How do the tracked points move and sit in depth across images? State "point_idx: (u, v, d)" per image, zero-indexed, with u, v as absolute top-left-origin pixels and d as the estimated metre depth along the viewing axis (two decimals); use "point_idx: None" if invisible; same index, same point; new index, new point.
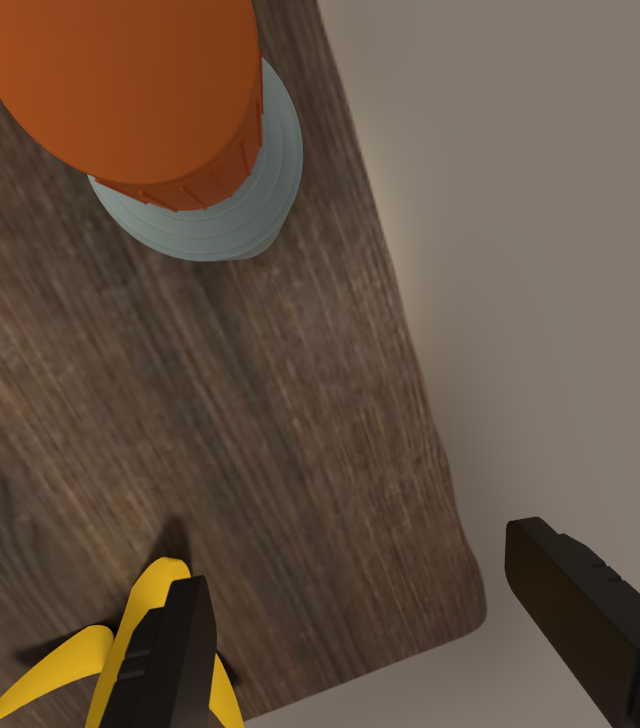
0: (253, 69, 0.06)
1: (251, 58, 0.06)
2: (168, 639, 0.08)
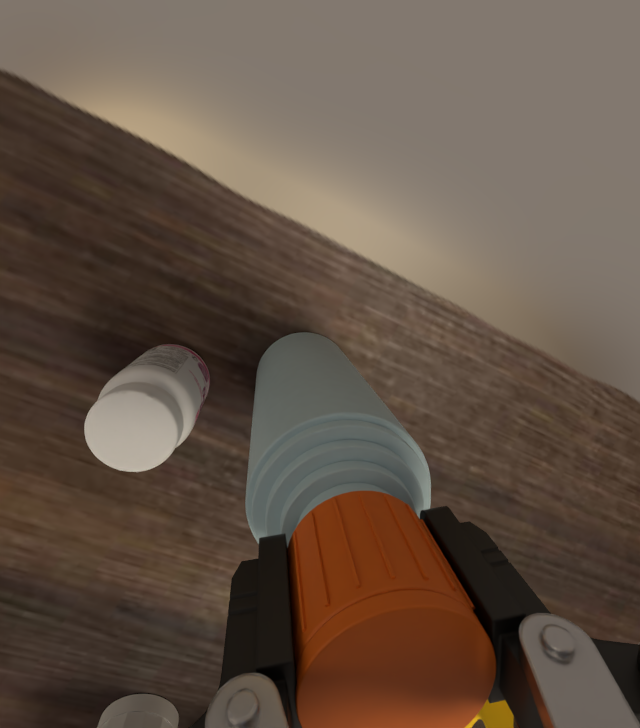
0: (483, 634, 0.07)
1: (475, 629, 0.07)
2: (270, 581, 0.09)
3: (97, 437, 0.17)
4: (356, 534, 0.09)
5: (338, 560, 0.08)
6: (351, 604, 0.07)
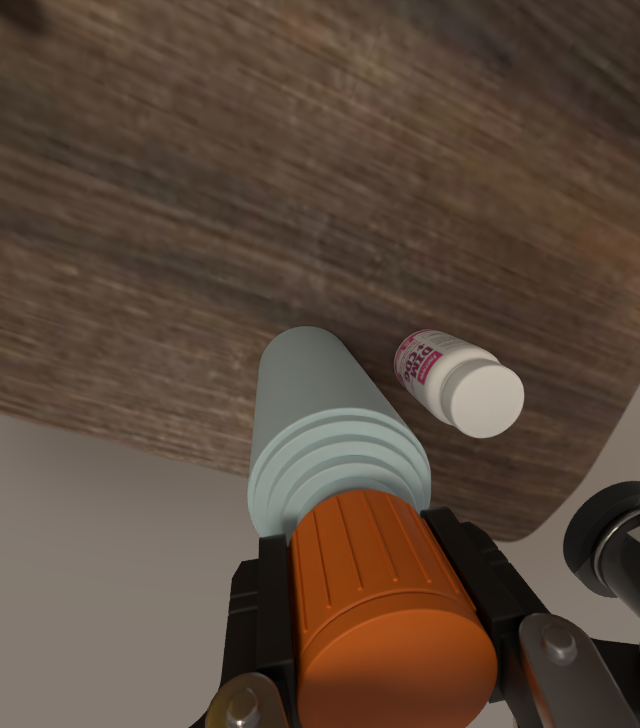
0: (485, 638, 0.07)
1: (478, 632, 0.07)
2: (271, 581, 0.09)
3: (515, 396, 0.20)
4: (358, 535, 0.09)
5: (339, 561, 0.08)
6: (353, 607, 0.07)
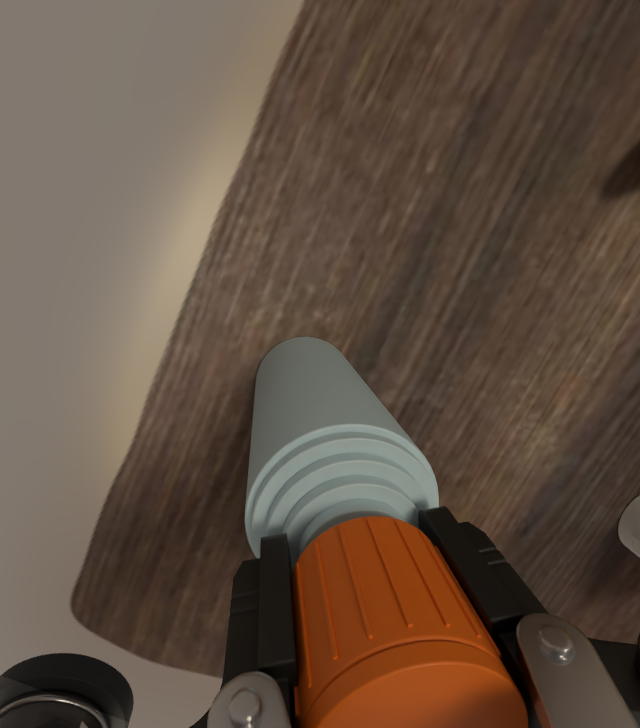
0: (513, 691, 0.06)
1: (505, 684, 0.06)
2: (272, 580, 0.09)
3: None
4: (366, 570, 0.08)
5: (346, 601, 0.07)
6: (363, 658, 0.06)
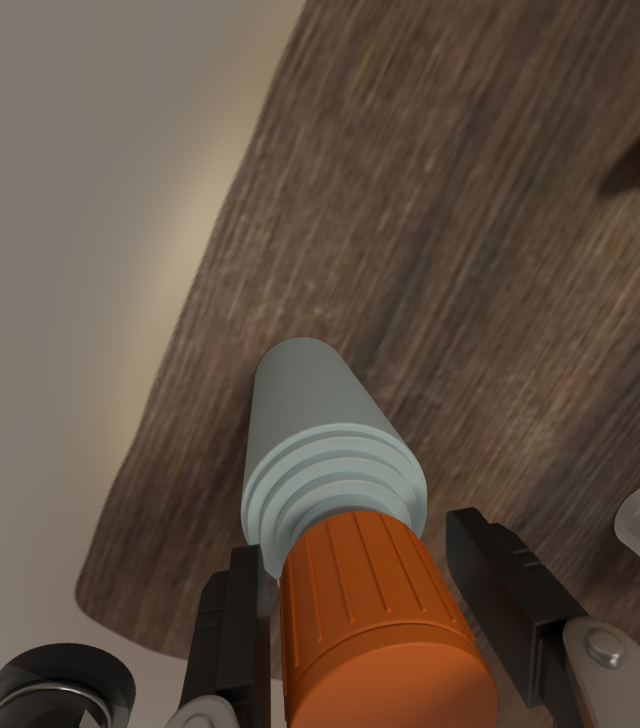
0: (484, 670, 0.07)
1: (476, 664, 0.07)
2: (239, 595, 0.08)
3: None
4: (351, 560, 0.08)
5: (332, 589, 0.08)
6: (345, 640, 0.07)
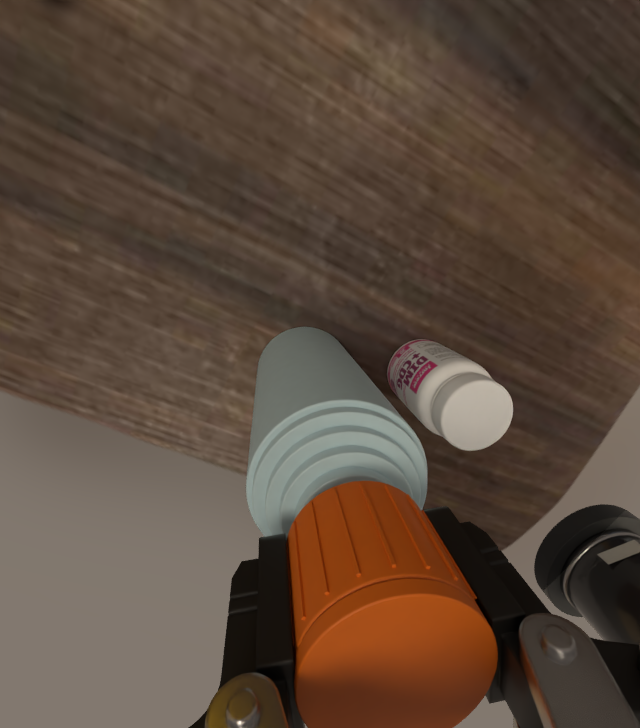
0: None
1: None
2: (271, 581, 0.09)
3: (504, 413, 0.20)
4: None
5: None
6: None
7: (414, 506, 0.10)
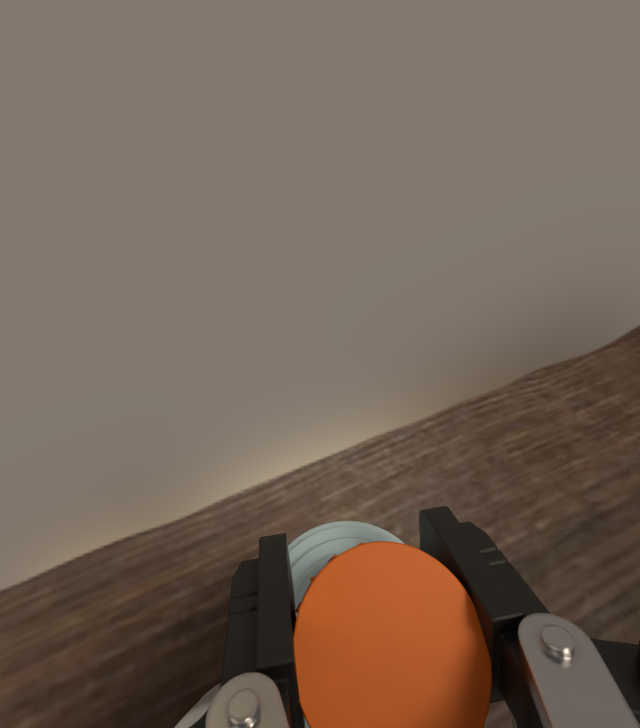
0: (298, 623, 0.08)
1: (298, 633, 0.08)
2: (271, 581, 0.09)
3: None
4: None
5: None
6: None
7: None
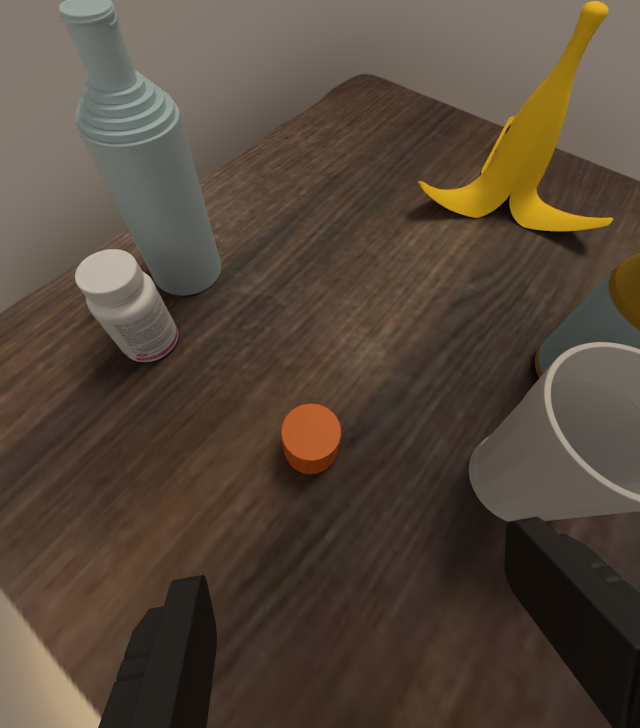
0: (283, 424, 0.26)
1: (283, 426, 0.26)
2: (168, 639, 0.08)
3: (97, 286, 0.25)
4: (293, 462, 0.26)
5: (301, 464, 0.26)
6: (299, 459, 0.25)
7: None
